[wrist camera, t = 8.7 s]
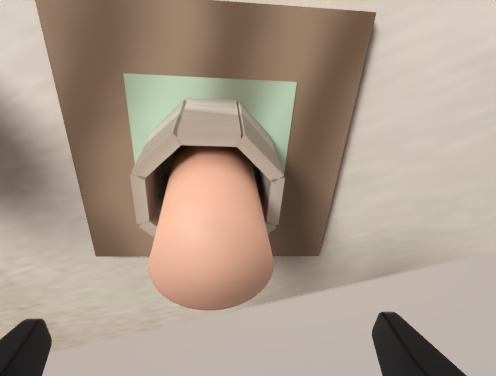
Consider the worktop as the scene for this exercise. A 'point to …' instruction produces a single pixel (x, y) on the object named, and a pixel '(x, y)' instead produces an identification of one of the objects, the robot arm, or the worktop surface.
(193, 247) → the terracotta peg
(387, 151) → the worktop surface
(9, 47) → the worktop surface
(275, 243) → the tube board
